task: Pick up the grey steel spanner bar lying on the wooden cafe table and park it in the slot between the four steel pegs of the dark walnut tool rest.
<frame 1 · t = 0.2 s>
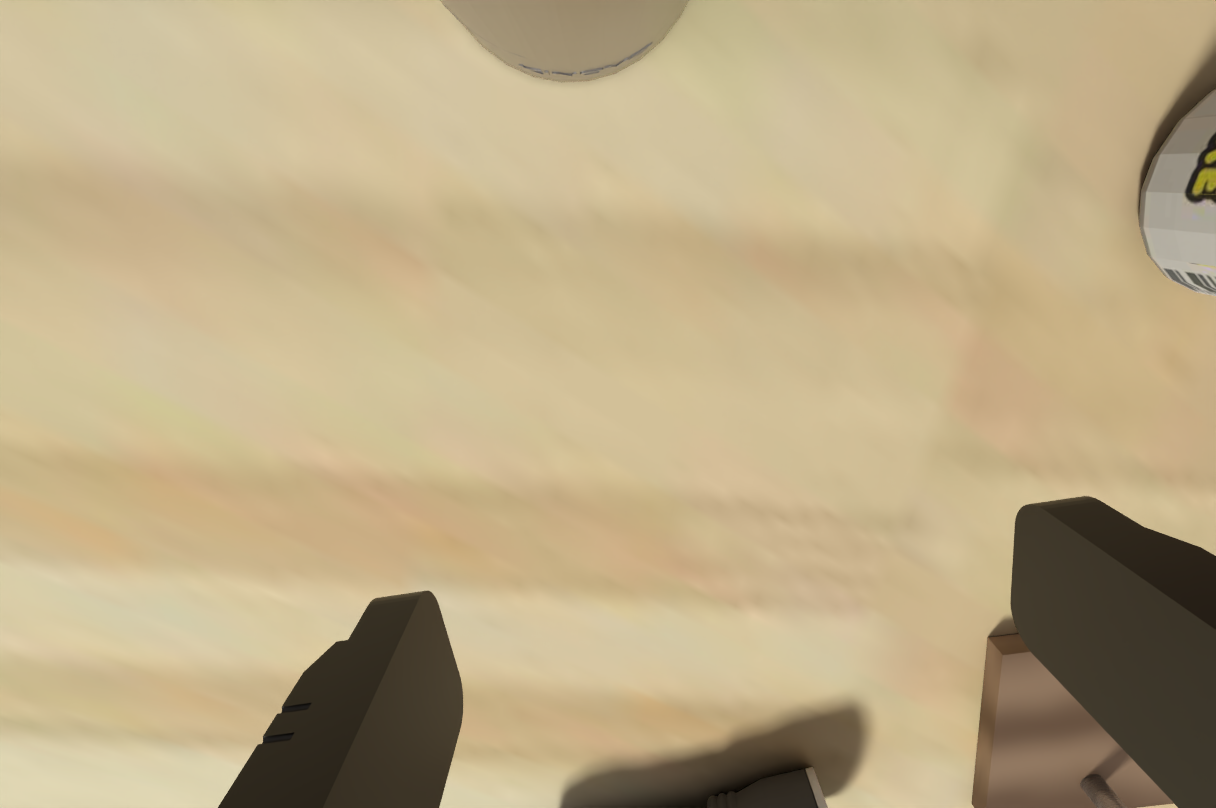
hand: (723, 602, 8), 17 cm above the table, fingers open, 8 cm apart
tool rest: (1208, 698, 32), on the table
flashlight: (689, 803, 35), on the table
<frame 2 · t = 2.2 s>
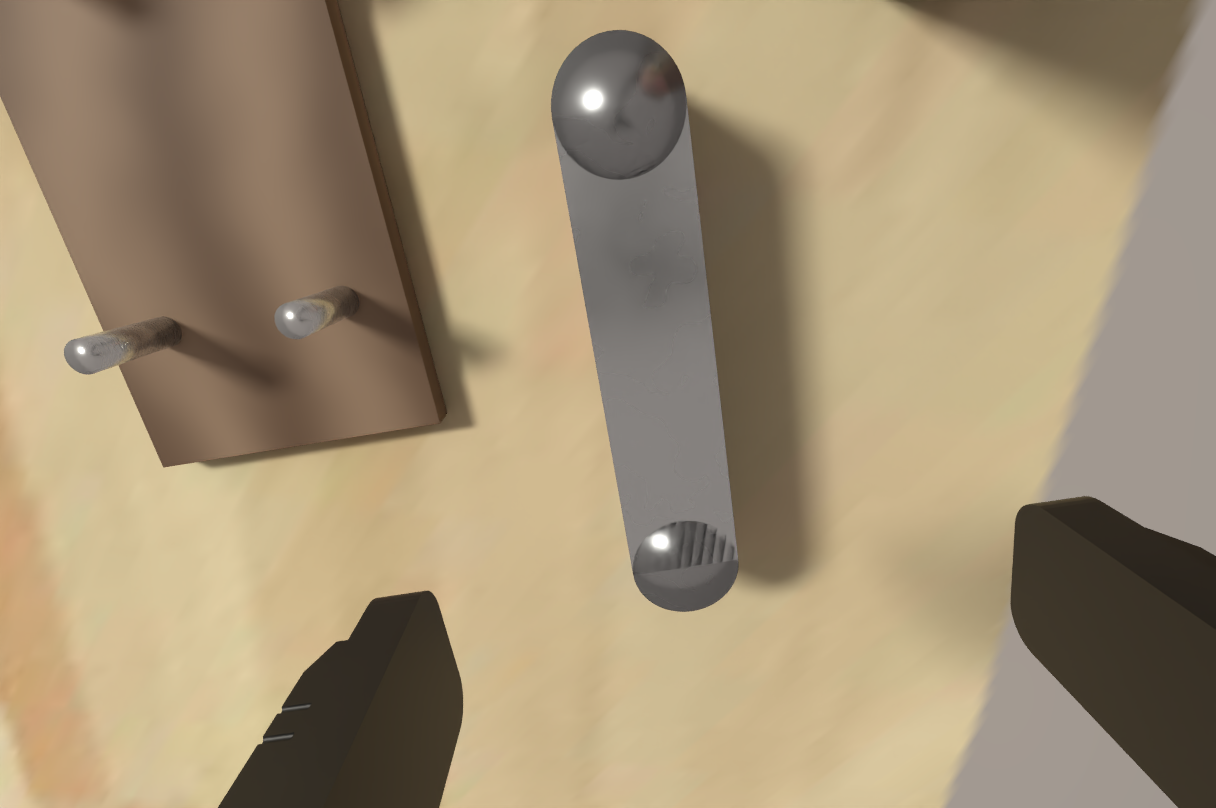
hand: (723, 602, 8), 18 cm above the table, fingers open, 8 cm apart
tool rest: (211, 140, 23), on the table
spanner bar: (646, 334, 25), on the table
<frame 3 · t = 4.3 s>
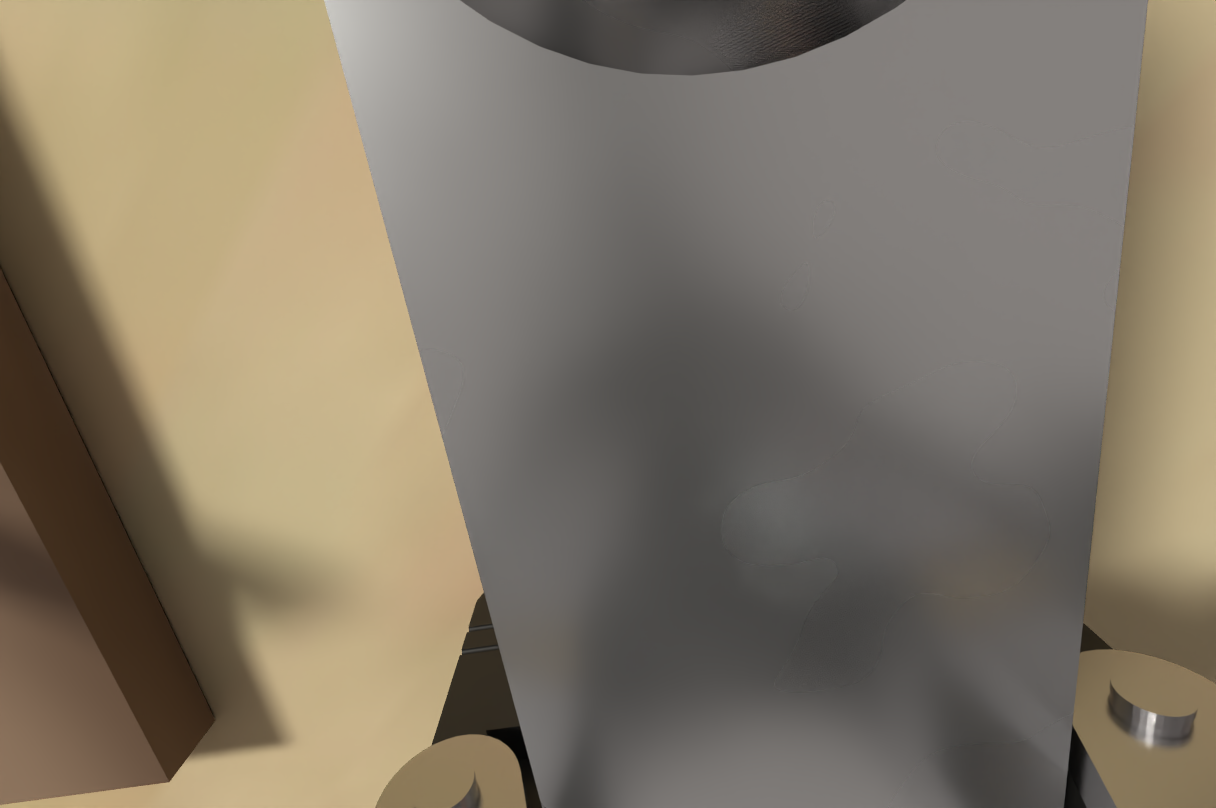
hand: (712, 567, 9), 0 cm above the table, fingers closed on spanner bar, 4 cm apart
spanner bar: (708, 549, 10), on the table, touching gripper
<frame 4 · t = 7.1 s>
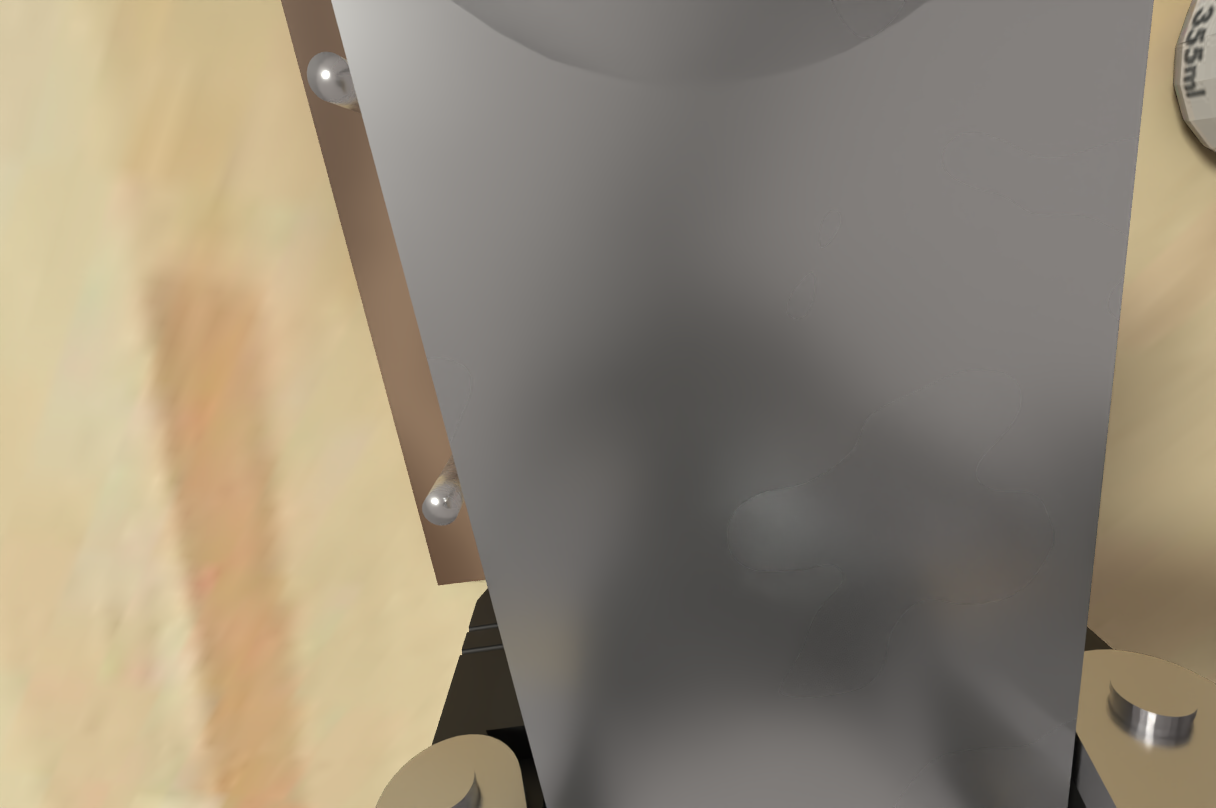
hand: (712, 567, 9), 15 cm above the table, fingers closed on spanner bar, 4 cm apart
tool rest: (529, 279, 23), on the table
spanner bar: (711, 551, 10), point 15 cm above the table, touching gripper
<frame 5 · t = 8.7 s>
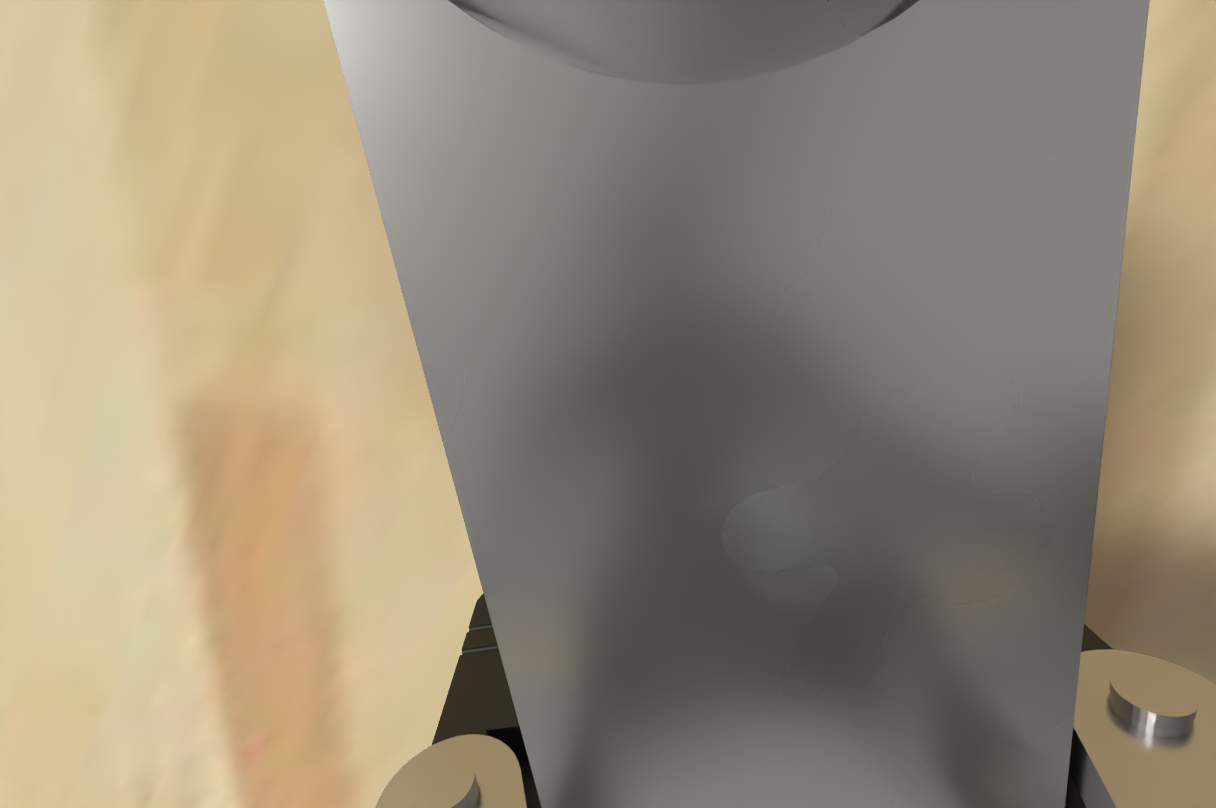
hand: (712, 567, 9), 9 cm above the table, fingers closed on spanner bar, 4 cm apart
spanner bar: (709, 551, 10), point 9 cm above the table, touching gripper
when the fingers open (3 cm above the table, at t = 10.2 s): spanner bar drops 1 cm, resting on tool rest.
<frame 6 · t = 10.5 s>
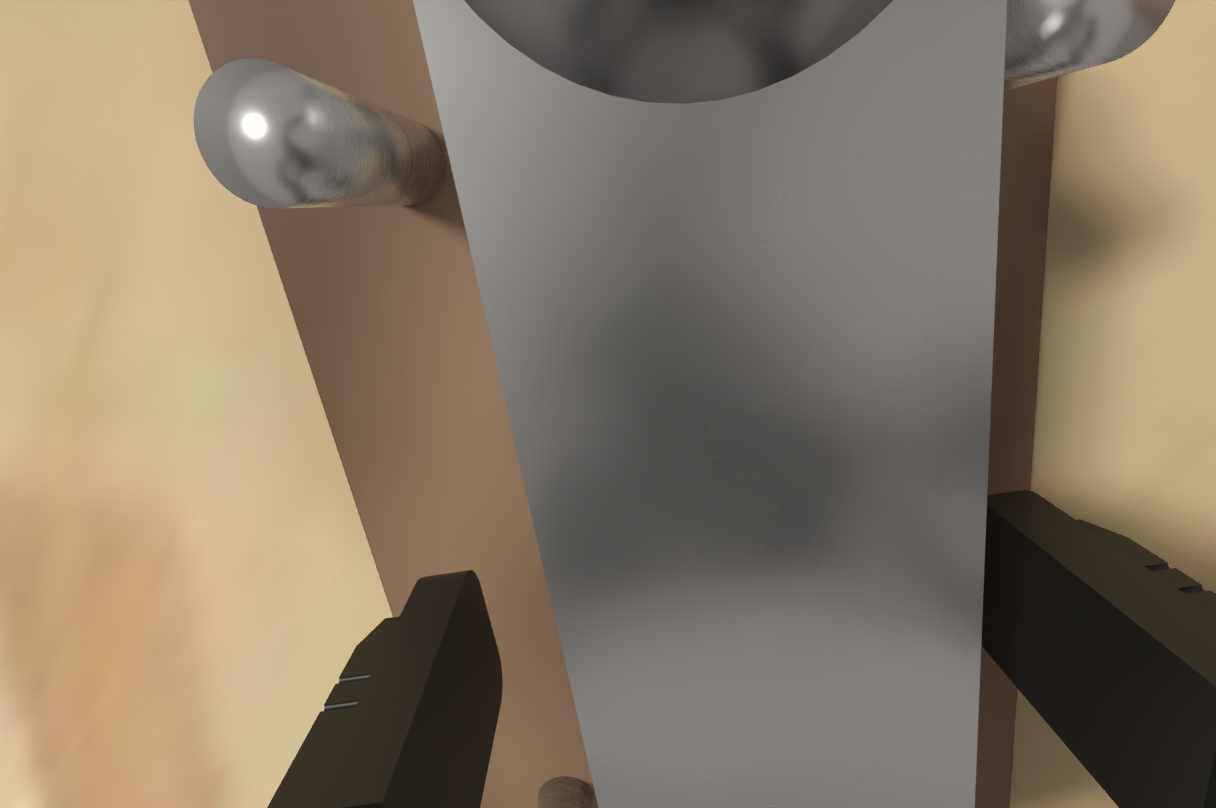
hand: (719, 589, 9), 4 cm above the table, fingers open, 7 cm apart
tool rest: (686, 480, 12), on the table
spanner bar: (703, 506, 11), point 1 cm above the table, touching tool rest
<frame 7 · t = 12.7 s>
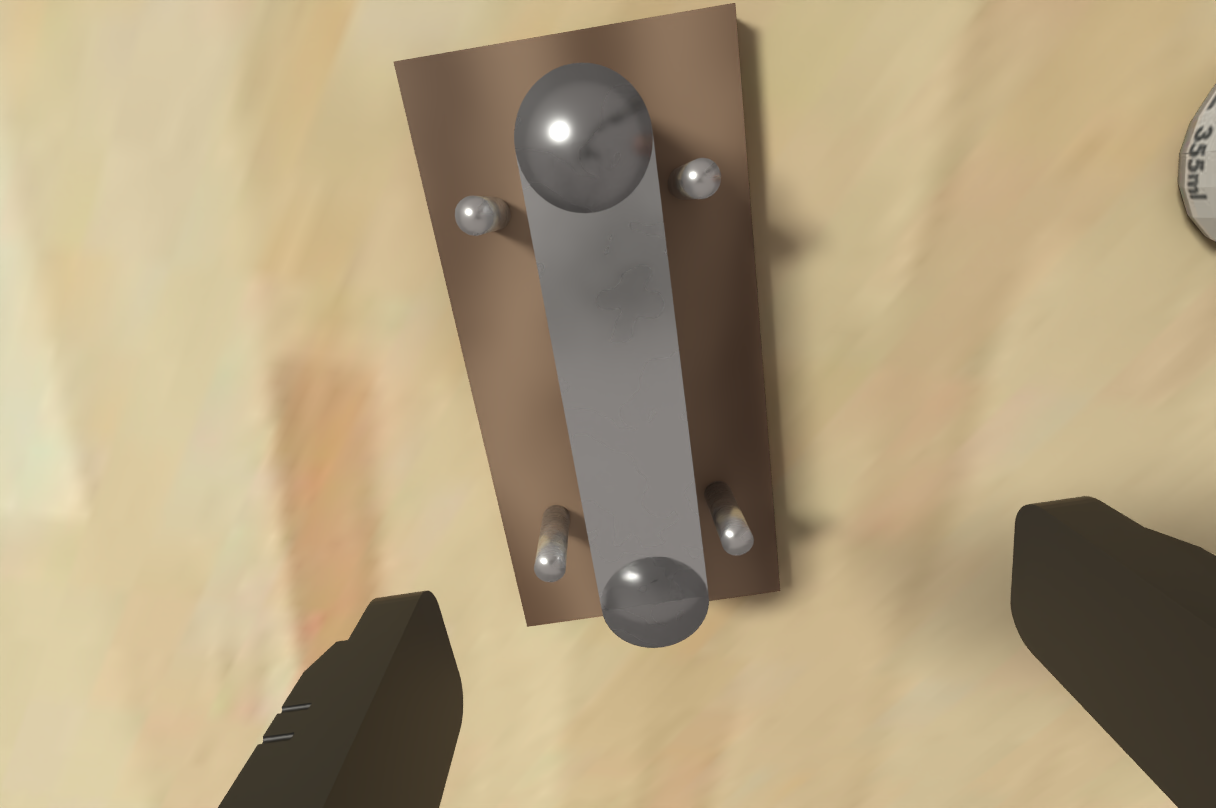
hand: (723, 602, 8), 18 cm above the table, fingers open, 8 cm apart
tool rest: (613, 357, 26), on the table
spanner bar: (618, 363, 25), point 1 cm above the table, touching tool rest
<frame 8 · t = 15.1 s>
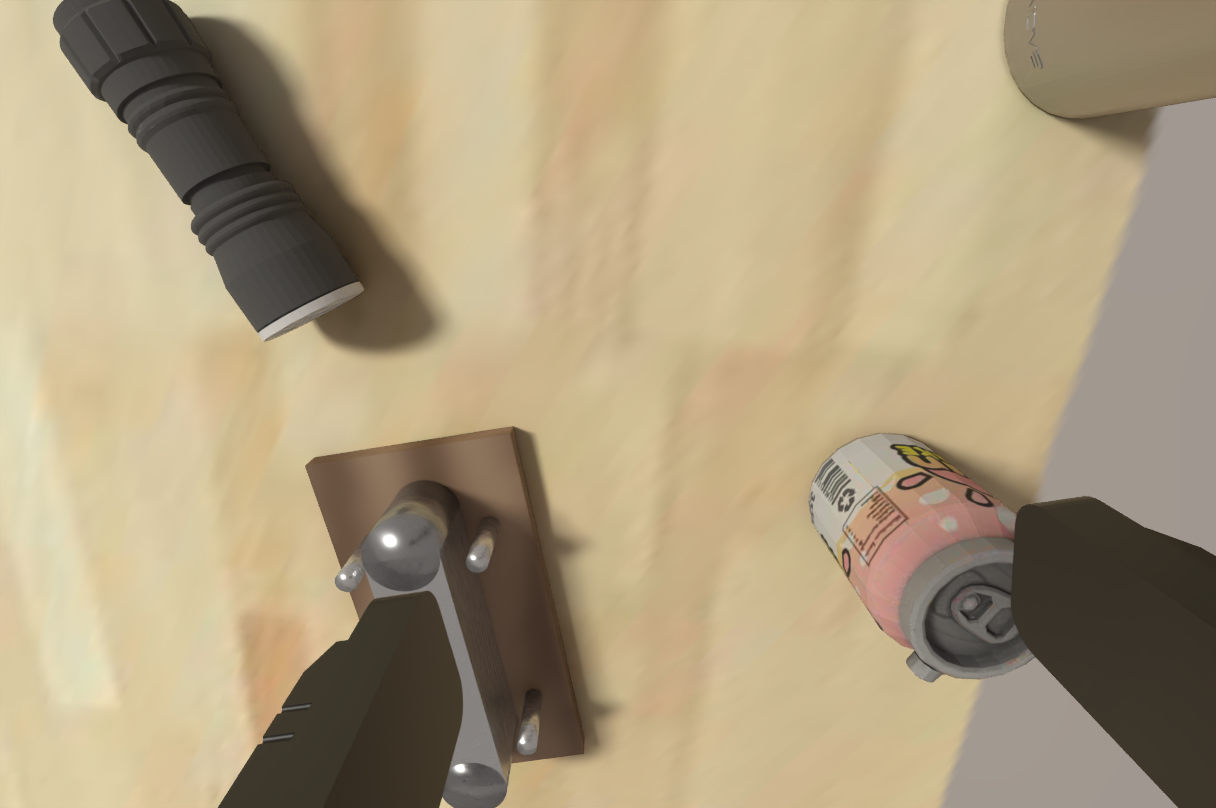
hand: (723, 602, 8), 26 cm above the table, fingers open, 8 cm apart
tool rest: (461, 610, 39), on the table
spanner bar: (459, 622, 38), point 1 cm above the table, touching tool rest
flashlight: (258, 180, 31), on the table
beverage can: (876, 492, 37), on the table
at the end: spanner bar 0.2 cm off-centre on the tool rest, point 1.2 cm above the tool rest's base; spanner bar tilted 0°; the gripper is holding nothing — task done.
